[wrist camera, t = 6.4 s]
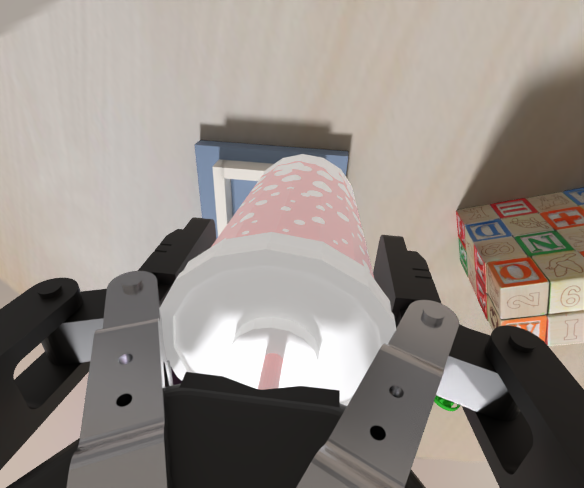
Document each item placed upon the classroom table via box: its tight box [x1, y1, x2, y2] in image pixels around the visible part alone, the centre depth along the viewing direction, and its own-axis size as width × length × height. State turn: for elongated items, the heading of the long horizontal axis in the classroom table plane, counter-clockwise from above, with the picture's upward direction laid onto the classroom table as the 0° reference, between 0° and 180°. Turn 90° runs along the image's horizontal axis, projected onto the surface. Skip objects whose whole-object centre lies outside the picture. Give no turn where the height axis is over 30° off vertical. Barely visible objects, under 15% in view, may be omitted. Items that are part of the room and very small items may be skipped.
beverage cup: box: [160, 154, 396, 406], centre depth 11 cm, size 6×6×14 cm
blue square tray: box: [195, 140, 348, 239], centre depth 36 cm, size 16×14×6 cm
